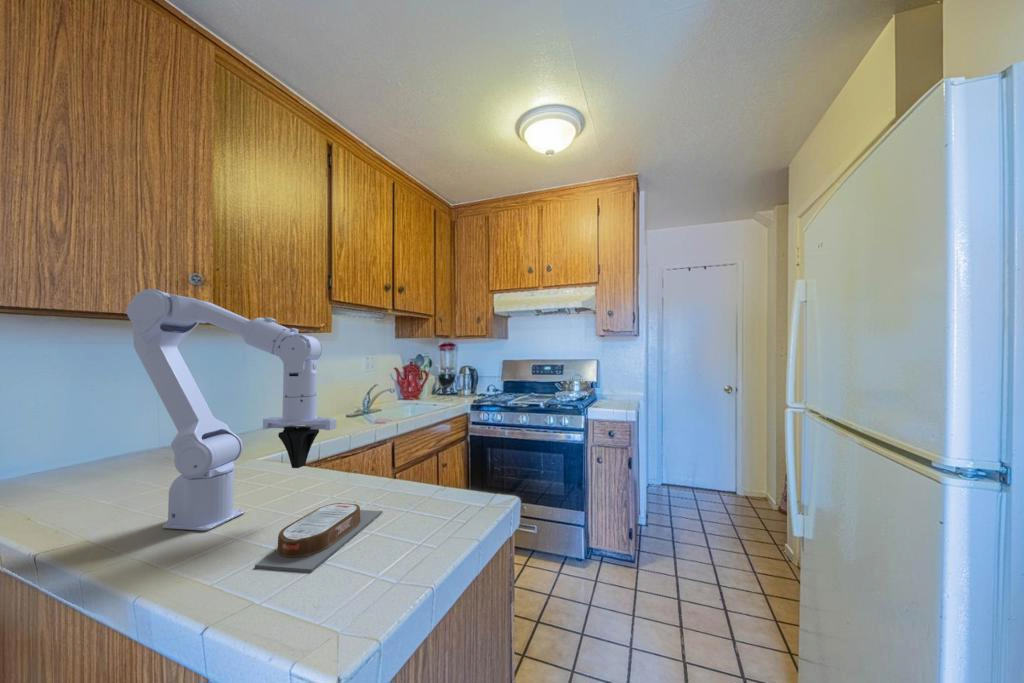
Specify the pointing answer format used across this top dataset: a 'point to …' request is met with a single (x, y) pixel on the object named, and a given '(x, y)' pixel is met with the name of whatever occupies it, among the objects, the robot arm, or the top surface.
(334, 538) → the tin
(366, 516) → the rubber mat
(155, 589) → the top surface
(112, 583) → the top surface
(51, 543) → the top surface
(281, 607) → the top surface
